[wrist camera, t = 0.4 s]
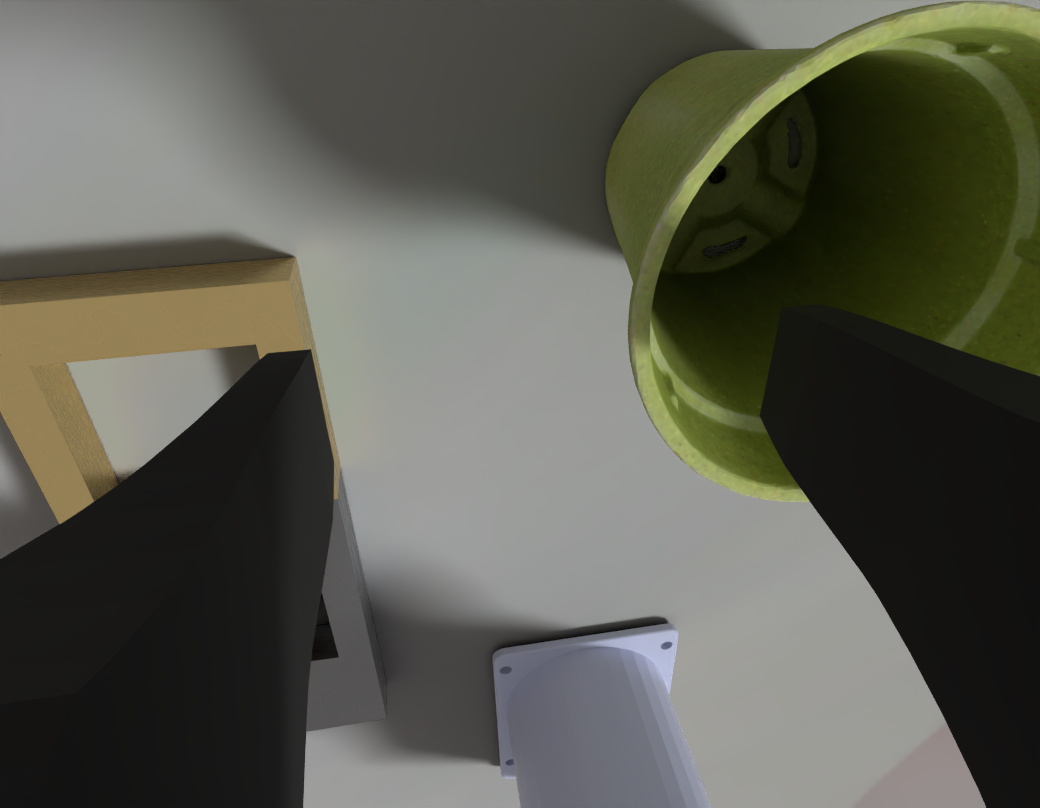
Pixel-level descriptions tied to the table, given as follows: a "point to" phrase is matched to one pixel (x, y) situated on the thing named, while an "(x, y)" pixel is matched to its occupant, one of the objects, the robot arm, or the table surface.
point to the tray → (164, 329)
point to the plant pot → (828, 213)
